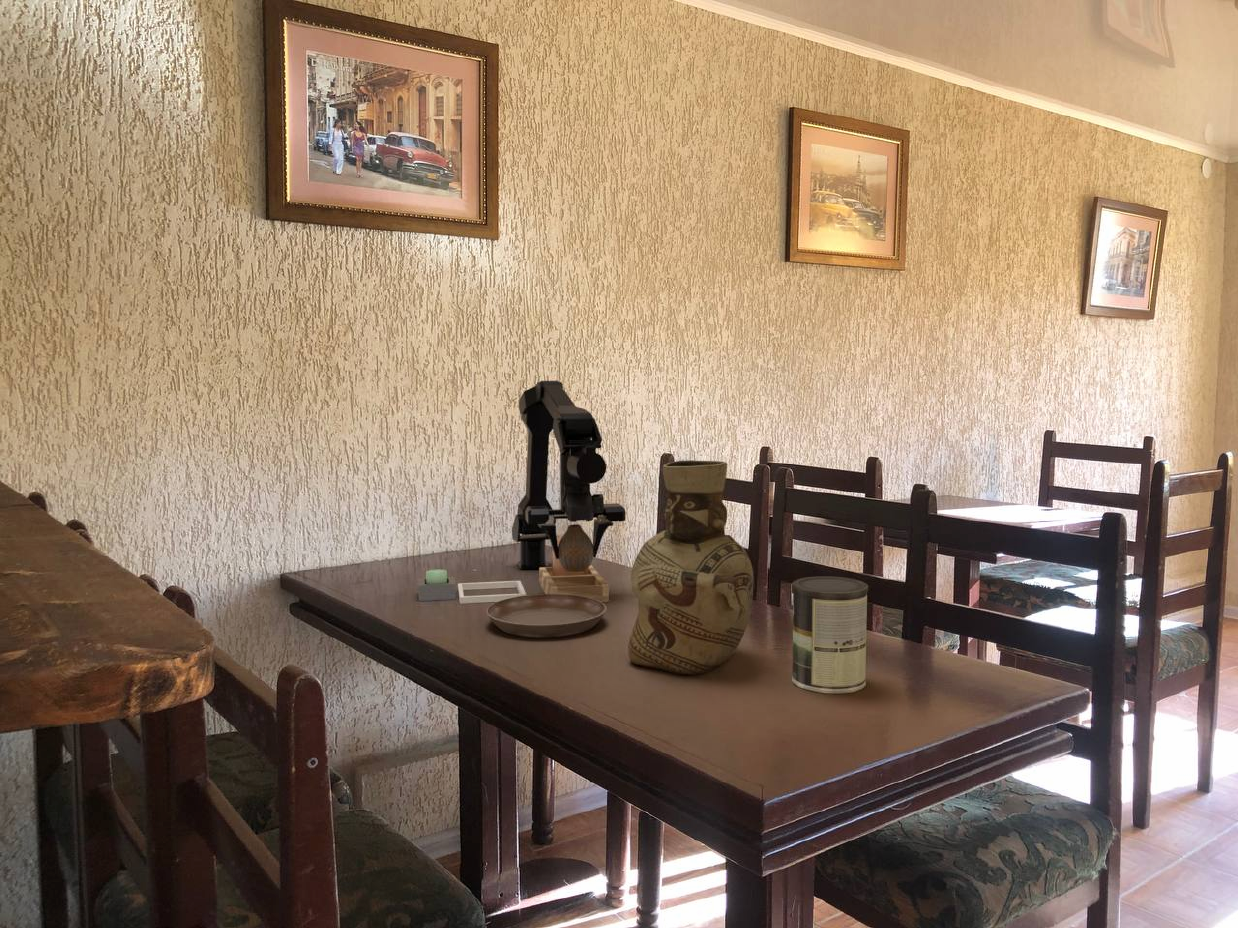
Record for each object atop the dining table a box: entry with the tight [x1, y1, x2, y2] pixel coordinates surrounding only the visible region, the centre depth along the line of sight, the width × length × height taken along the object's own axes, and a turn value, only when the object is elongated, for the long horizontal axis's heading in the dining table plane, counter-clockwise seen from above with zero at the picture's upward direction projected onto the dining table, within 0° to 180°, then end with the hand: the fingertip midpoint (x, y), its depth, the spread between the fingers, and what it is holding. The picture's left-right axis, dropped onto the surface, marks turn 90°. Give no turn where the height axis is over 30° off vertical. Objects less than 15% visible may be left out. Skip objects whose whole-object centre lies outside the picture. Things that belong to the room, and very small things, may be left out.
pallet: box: [538, 564, 610, 603], centre depth 196 cm, size 20×11×3 cm, turn 11°
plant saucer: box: [486, 593, 607, 638], centre depth 171 cm, size 21×21×3 cm
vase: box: [558, 523, 594, 572], centre depth 190 cm, size 7×7×9 cm
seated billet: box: [551, 534, 585, 576], centre depth 200 cm, size 7×7×9 cm
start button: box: [425, 568, 448, 584], centre depth 192 cm, size 4×4×4 cm
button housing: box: [417, 576, 457, 602], centre depth 193 cm, size 7×7×3 cm
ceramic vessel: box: [627, 459, 754, 676], centre depth 148 cm, size 19×21×30 cm
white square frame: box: [457, 580, 527, 605], centre depth 194 cm, size 13×13×1 cm
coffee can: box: [791, 575, 869, 695], centre depth 138 cm, size 10×10×14 cm
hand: (575, 557), depth 190 cm, fingers closed on vase, 7 cm apart
